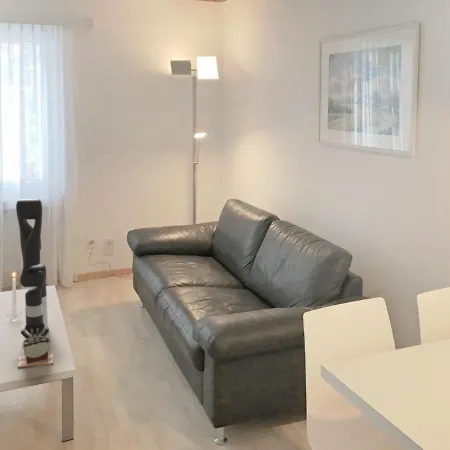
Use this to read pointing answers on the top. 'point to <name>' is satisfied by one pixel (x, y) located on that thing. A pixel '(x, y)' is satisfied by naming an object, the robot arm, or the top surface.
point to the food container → (36, 349)
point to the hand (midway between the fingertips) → (35, 348)
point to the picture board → (23, 363)
